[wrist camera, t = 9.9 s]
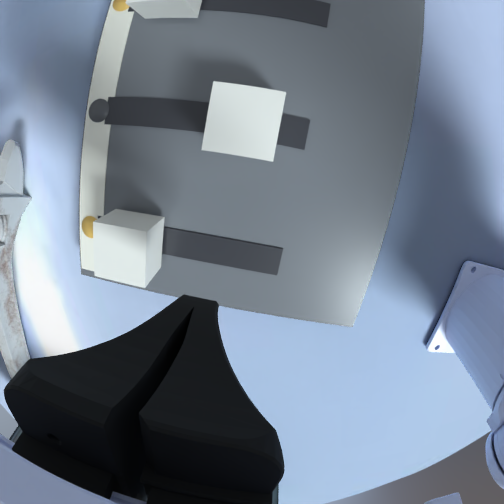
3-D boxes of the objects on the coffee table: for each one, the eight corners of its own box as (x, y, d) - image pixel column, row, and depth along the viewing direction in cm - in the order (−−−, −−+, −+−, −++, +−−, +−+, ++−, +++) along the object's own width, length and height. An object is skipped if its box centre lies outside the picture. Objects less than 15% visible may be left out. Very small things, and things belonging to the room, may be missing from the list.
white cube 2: (283, 99, 14) (286, 92, 11) (272, 157, 15) (273, 161, 12) (222, 90, 13) (213, 81, 11) (212, 147, 15) (201, 150, 12)
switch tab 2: (164, 217, 16) (147, 231, 14) (161, 267, 17) (145, 288, 15) (116, 208, 16) (93, 221, 14) (115, 257, 17) (94, 275, 15)
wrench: (39, 367, 30) (26, 117, 16) (50, 374, 30) (41, 121, 16) (10, 412, 22) (-60, 142, 9) (21, 420, 23) (-48, 147, 9)
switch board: (411, 6, 12) (425, -5, 10) (346, 310, 20) (352, 328, 18) (139, -33, 12) (126, -46, 10) (95, 262, 20) (80, 275, 18)
